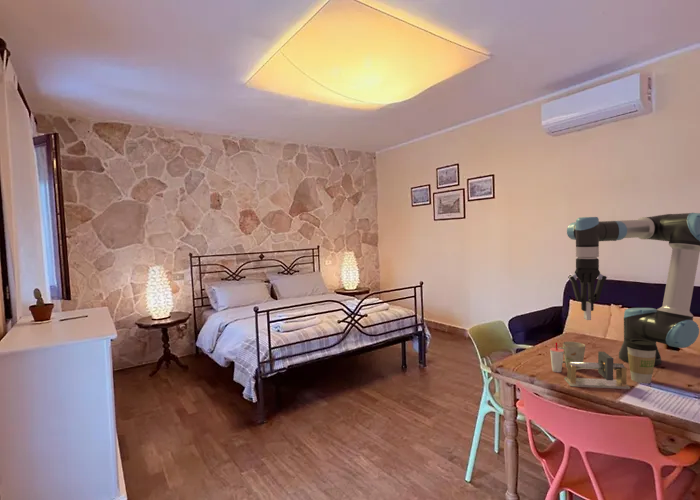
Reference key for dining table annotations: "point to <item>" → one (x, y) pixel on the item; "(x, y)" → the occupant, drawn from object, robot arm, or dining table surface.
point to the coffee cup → (641, 359)
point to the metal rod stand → (597, 383)
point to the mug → (573, 352)
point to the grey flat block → (606, 365)
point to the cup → (556, 358)
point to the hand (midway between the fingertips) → (587, 319)
